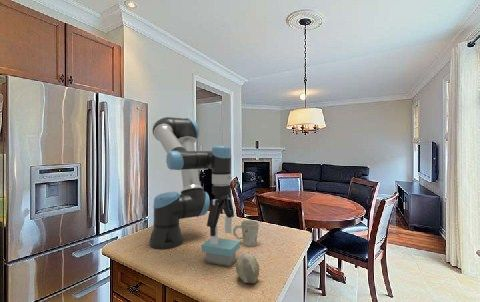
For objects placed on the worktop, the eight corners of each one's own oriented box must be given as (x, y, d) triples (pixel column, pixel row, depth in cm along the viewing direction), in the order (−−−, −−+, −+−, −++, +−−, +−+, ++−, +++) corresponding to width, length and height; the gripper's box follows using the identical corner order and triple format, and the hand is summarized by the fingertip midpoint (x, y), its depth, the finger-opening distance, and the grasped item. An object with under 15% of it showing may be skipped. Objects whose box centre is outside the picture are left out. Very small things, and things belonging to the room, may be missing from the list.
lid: (201, 251, 96) (201, 244, 96) (212, 243, 104) (212, 237, 104) (231, 256, 91) (231, 249, 91) (239, 247, 100) (239, 241, 100)
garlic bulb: (253, 294, 80) (255, 270, 76) (229, 284, 83) (230, 261, 79) (262, 272, 88) (264, 250, 84) (240, 264, 91) (242, 243, 87)
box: (205, 262, 96) (206, 247, 96) (213, 255, 103) (213, 241, 102) (229, 266, 93) (229, 251, 93) (235, 259, 99) (235, 244, 99)
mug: (257, 247, 111) (257, 225, 111) (230, 245, 113) (230, 224, 113) (259, 241, 119) (259, 220, 119) (234, 239, 122) (234, 219, 121)
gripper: (216, 189, 84) (216, 251, 84) (241, 181, 108) (241, 229, 108) (197, 188, 87) (197, 248, 87) (225, 180, 110) (225, 227, 110)
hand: (221, 238), depth 97 cm, fingers open, 13 cm apart
